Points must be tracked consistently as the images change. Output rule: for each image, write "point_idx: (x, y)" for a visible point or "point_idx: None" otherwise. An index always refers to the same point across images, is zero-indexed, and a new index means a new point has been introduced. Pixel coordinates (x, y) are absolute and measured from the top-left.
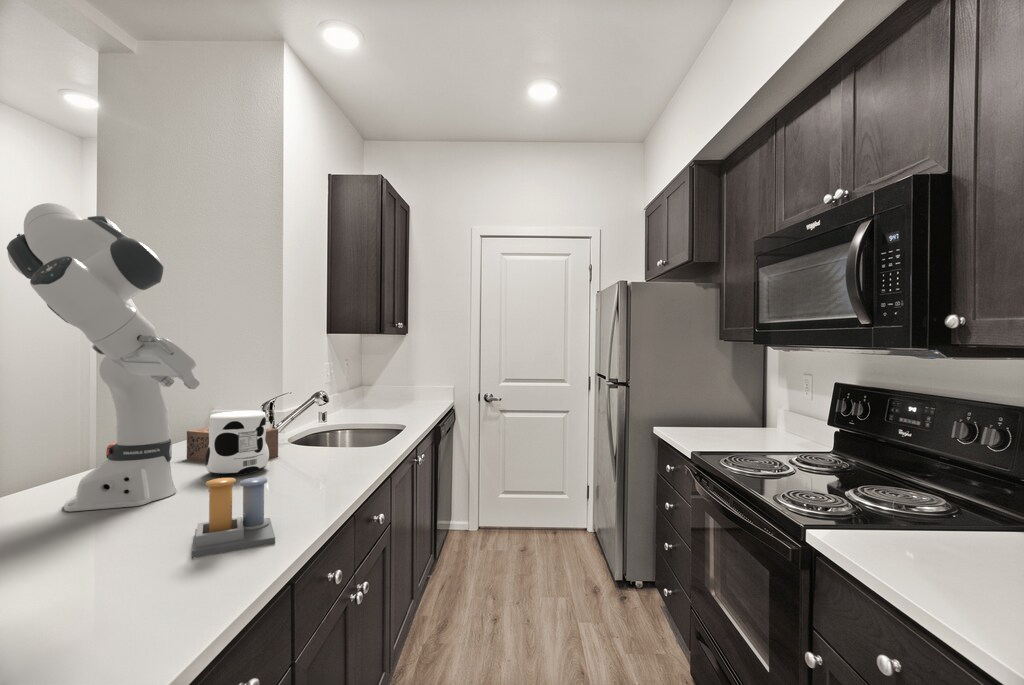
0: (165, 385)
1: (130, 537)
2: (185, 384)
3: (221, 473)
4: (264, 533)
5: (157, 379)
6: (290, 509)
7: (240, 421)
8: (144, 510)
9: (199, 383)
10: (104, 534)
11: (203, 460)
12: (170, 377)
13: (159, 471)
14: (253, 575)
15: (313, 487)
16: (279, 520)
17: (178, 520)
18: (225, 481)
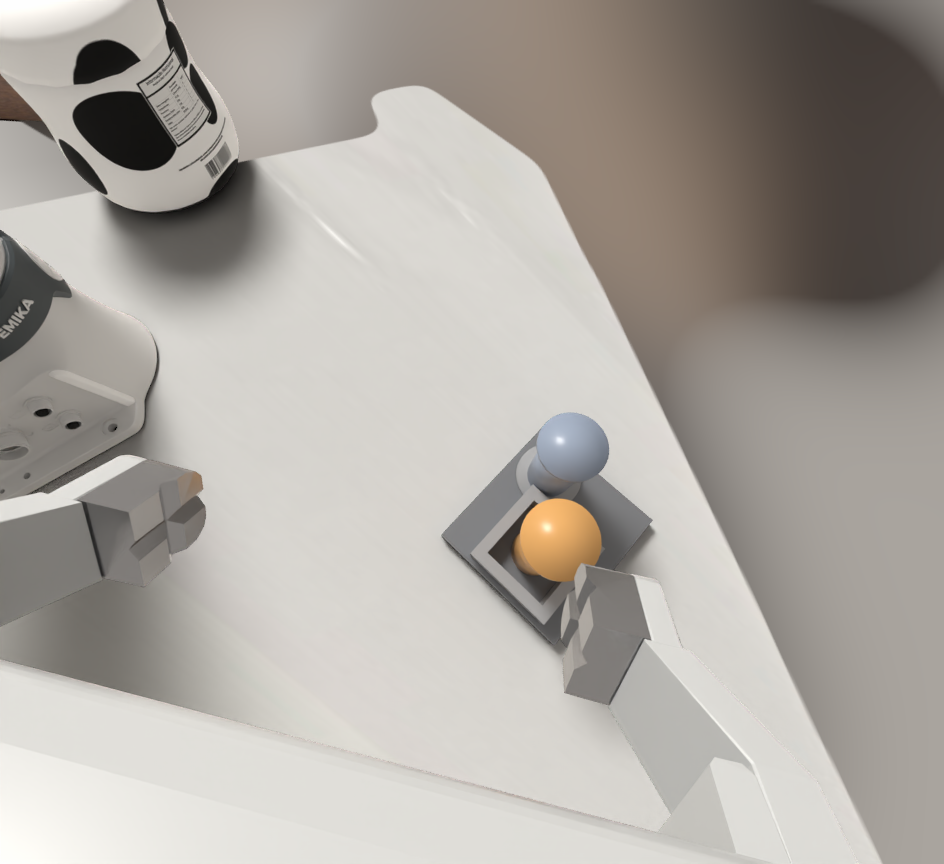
0: (173, 547)
1: (308, 595)
2: (596, 695)
3: (169, 210)
4: (612, 509)
5: (55, 592)
6: (514, 349)
7: (112, 36)
8: (179, 448)
9: (653, 580)
10: (227, 601)
11: (4, 116)
12: (151, 497)
13: (88, 338)
14: (745, 671)
15: (449, 220)
16: (546, 411)
17: (323, 477)
18: (577, 538)
